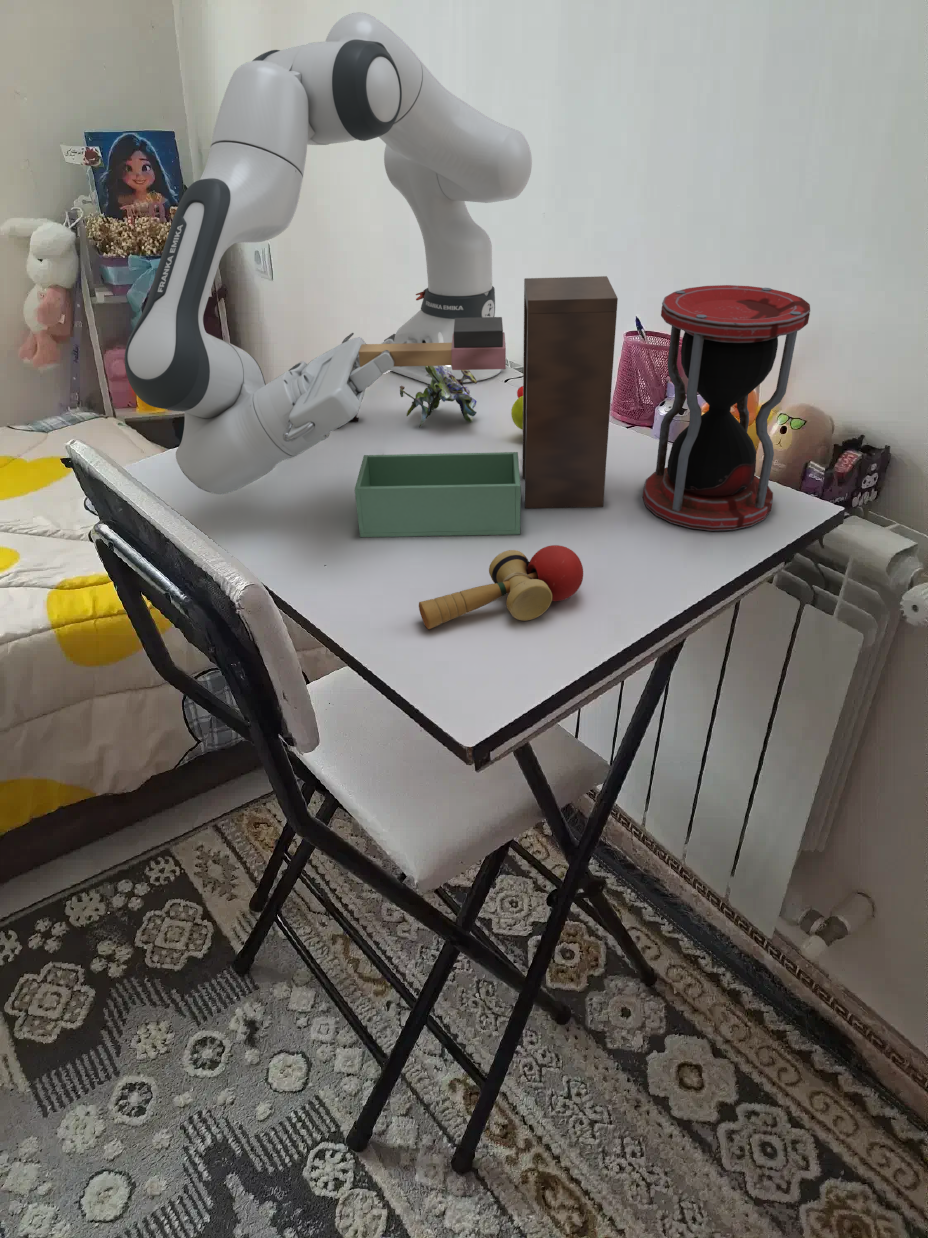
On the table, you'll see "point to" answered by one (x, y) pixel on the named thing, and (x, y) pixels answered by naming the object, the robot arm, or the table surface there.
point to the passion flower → (444, 393)
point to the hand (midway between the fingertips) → (393, 350)
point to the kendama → (514, 586)
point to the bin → (439, 494)
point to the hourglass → (721, 403)
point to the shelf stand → (567, 389)
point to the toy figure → (518, 409)
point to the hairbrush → (451, 348)
